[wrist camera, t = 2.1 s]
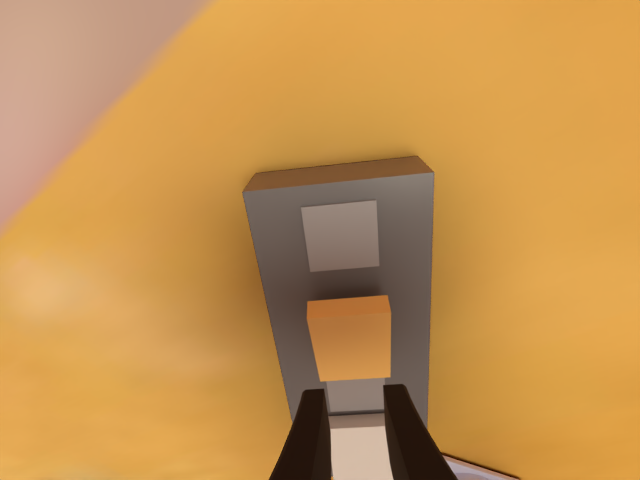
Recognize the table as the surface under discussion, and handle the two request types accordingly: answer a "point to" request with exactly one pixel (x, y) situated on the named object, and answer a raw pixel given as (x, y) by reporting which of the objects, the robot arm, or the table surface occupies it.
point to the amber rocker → (351, 337)
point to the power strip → (347, 267)
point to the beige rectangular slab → (359, 447)
